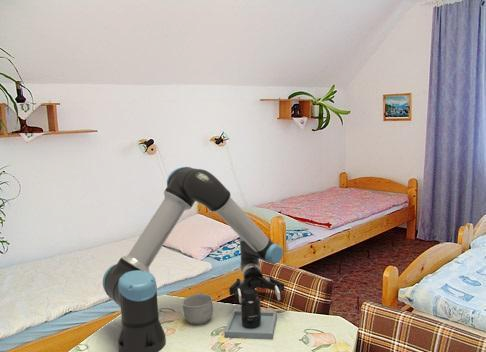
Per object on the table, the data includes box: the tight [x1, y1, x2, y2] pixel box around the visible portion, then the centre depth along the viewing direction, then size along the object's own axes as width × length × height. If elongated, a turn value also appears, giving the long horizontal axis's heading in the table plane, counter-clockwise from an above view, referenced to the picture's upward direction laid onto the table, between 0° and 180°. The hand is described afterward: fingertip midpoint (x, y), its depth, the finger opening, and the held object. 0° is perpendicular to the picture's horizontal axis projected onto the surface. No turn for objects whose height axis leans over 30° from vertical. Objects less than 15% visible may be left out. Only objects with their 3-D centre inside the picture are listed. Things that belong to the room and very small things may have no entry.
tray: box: [223, 310, 278, 340], centre depth 152 cm, size 16×16×2 cm
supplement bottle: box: [240, 288, 262, 328], centre depth 151 cm, size 7×7×12 cm
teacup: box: [181, 291, 214, 325], centre depth 160 cm, size 14×11×8 cm
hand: (259, 297), depth 153 cm, fingers open, 13 cm apart
